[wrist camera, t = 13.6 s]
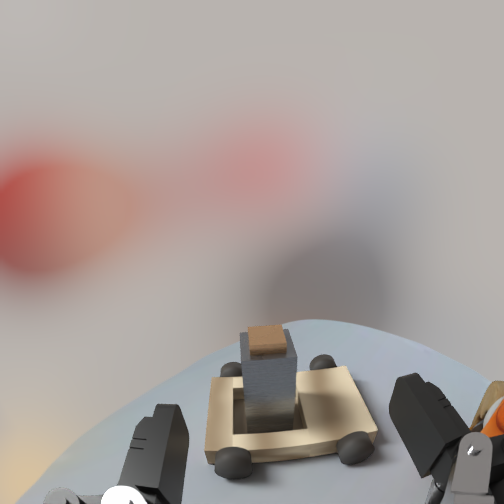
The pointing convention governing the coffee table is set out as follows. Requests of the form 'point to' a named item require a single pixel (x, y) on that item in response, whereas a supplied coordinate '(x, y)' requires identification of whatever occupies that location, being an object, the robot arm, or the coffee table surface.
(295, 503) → the coffee table surface
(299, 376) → the chassis
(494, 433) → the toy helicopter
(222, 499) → the coffee table surface
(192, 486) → the coffee table surface
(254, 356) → the block
